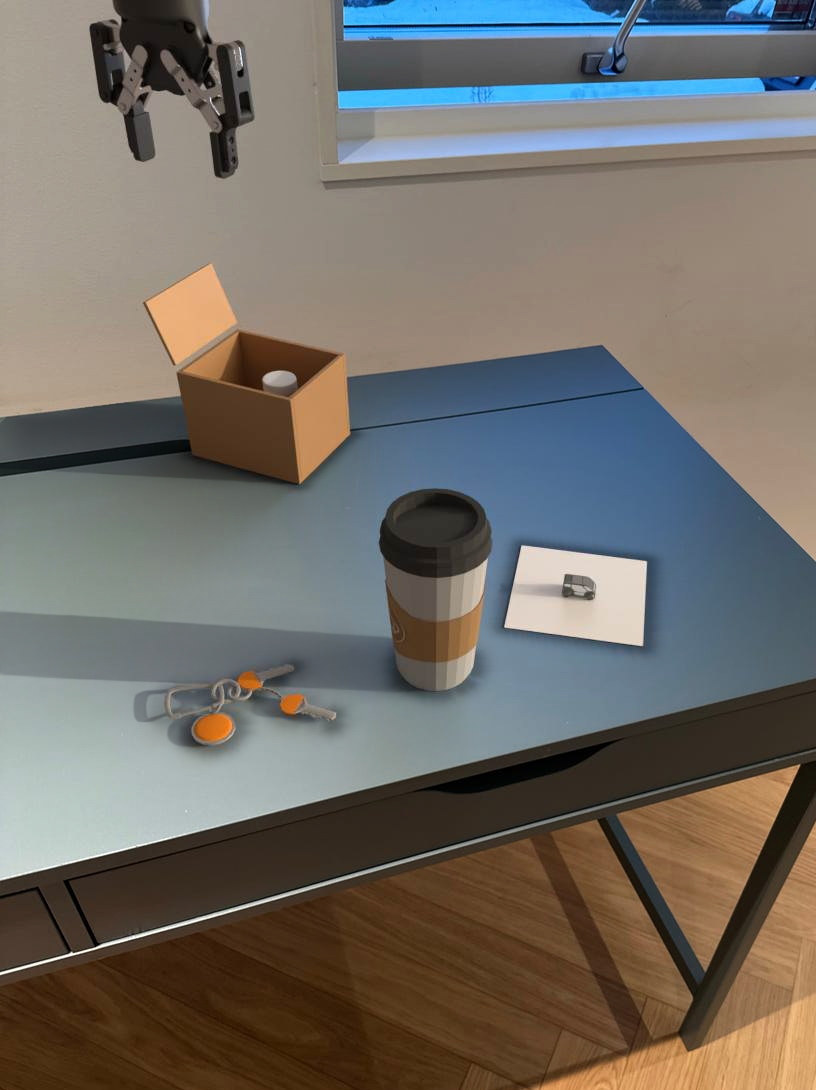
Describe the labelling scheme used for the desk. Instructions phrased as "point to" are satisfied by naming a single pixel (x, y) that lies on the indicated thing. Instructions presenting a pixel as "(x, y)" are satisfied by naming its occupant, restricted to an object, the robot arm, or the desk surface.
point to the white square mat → (578, 595)
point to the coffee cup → (435, 583)
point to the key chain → (222, 725)
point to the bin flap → (190, 313)
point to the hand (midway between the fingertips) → (184, 167)
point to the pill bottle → (280, 383)
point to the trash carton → (265, 405)
